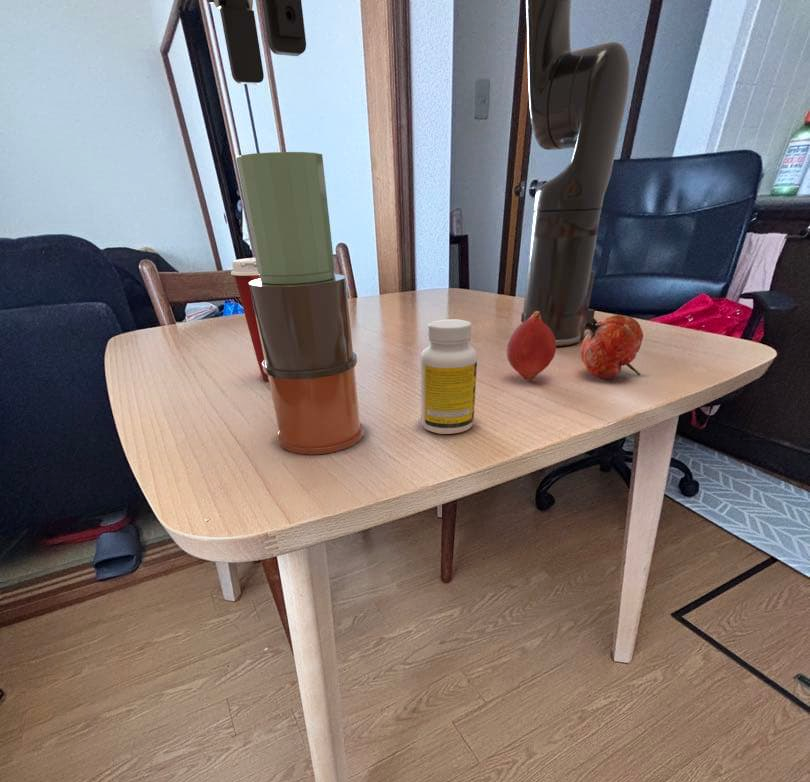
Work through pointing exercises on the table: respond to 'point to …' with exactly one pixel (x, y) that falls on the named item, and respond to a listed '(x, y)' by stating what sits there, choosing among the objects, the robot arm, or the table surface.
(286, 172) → the green cup
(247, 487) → the table surface
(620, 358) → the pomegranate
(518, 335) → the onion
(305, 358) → the cup stack
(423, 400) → the supplement bottle
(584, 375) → the table surface
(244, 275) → the paper cup
